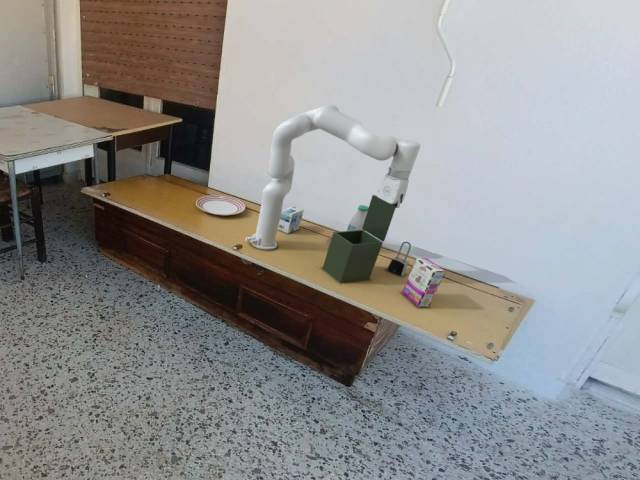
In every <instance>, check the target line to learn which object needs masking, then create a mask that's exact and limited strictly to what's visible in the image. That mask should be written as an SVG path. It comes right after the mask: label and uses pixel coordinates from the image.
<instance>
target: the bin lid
mask: <svg viewBox="0 0 640 480" xmlns="http://www.w3.org/2000/svg"><path fill="white" fill-rule="evenodd" d="M368 207H369V208H368V211H367V215H366V218H365V221H364V224H363V228H362V229H363V230H365V232H367V233H368V234H370V235H372V236H373V237H375V238H376V239H378V240H380V241H381V242H383V243H384V242H385V240H386V237H387V235H388V232H389V228H390V225H391V223H392V220H393V217H394V214H395V211H396V209H397V208H396V206H395V205H393V204H390V203H388V202H386V201H384V200H382V199H380V198H378V197H377V195H375V194H372V195H371V200H370V202H369V205H368Z"/></svg>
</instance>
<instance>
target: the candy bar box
mask: <svg viewBox="0 0 640 480" xmlns="http://www.w3.org/2000/svg"><path fill="white" fill-rule="evenodd" d="M445 274H446V270H445V269H443V268H442V267H440V266H439V265H437V264H436V263H435V262H433V261H432V260H430V259H429V258H427V257H417V258H416V259H415V261H414V264H413V265H412V268H411V271H410V273H409V275H408V277H407V279H406V282H405V284H404V287H403V289H402V291H401V294H402V295H404V296H405V297H406V298H407V299H408V300H409V301H410V302H412V304H414V305H415V306H416V307H417V308H429V307H430V305H431V303H432V301H433V299H434V297H435V295H436V293H437V291H438V289H439V286H440V284H441V282H442V280H443V278H444V276H445Z"/></svg>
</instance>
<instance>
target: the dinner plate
mask: <svg viewBox="0 0 640 480" xmlns="http://www.w3.org/2000/svg"><path fill="white" fill-rule="evenodd" d="M195 205H196V206H197V208H198V209H200V210H201V211H203V212H206V213H208V214H210V215H211V214H212V215H214V216H223V217H227V216H235V215H238V214H241V213H243V212H244V211H245V210H246V204H244V203H243V202H242V200H239V199H237V198H234V197H231V196H225V195H217V194H216V195H215V194H214V195H205V196H202V197H199V198H198V199H197V200H196V201H195Z"/></svg>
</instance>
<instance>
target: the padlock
mask: <svg viewBox="0 0 640 480" xmlns="http://www.w3.org/2000/svg"><path fill="white" fill-rule="evenodd" d="M405 244H407V245H408V250H407V252H406V254H405V257H404V258H402V257H399V256H400V254H401V251H402V249H403V247H404V245H405ZM411 249H412V244H411V243H410V242H409V241H403V242H402V243H401V245H400V247H399V249H398V251H397V254H396V256H395V257H393V258H392V259H391V260H390V262H389V264H388V266H387V268H386V271H387V272H389V273H391V274H393V275H397V276H399V277H403V276H405V275H406V273H407V270H408V266H409V261H408V257H409V254H410V252H411Z"/></svg>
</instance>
